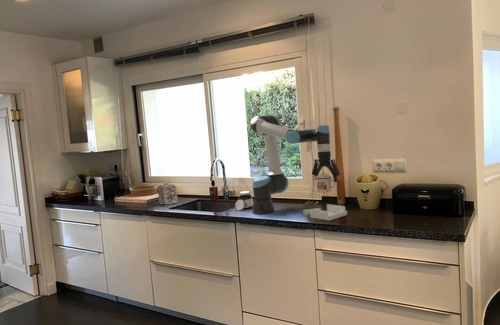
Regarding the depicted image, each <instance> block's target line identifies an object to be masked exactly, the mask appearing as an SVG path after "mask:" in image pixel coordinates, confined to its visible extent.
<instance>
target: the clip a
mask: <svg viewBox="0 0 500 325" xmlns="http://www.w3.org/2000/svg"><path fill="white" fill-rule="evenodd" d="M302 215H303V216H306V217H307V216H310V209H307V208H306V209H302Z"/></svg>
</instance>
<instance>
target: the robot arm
mask: <svg viewBox="0 0 500 325" xmlns="http://www.w3.org/2000/svg"><path fill="white" fill-rule="evenodd" d="M249 125H250V130H251V131H252V132H254V133H256V134H259V135H261V136H262V137H263V139H264V144H265V152H266V158H267V159H266V160H267V167H268V172H267V175H263V176H259V177H255V178H254V179H253V180H252V190H253V205H252V207H251V208H252V209H251V212H252V214H254V213H255V215H268V214H271V213H274V212H275V211H276V210H275V206H274V203H273V200H272V195H275V194H281V193H284V192H286V191H287V189H288V188H289V184H290V183H289V180H288V177H287V176H286V175H285V173H284V172H283V170H282V166H281V159H280V151H279V144H278V139H280V140H284V141H286V142H287V143H288V144H293V145H294V144H301V143H310V142H316V145H317V151H318V152H317V157H318V159H316V158H315V159H314V164H313V168H312V172H311V175H313V176H314V180H315V186H316V188H317V181H316V177H317V176H319V175H320V172H321V171H322V169H323V168H325V167H326V168H327V169H328V170H329V172H330V173H331V175H332V176H331V180H332V181H331V184H332V186H333V188H332V189H335V188H337V187H338V186H337V185H338V184H337V183H338V176H340V175H341V173H340V171H339V169H338V166H337V164H336V159H335V158H334V159H331V157H332V154H331V152H332V151H331V141H330V140H331V139H330V137H331V136H330V134H331V132H330V127H329V125H328V124H326V125H325V124H323V125H316V128H315V129H313V128H312V129H309V128H308V129H300V130H295V129H292V128H289V127H286V126H285V127H284V126H282V122H281V120H280V118H279V117H278V116H277V115H270V114H269V115H257V116H254V117H253V118H252V119H251V120H250V124H249Z"/></svg>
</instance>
